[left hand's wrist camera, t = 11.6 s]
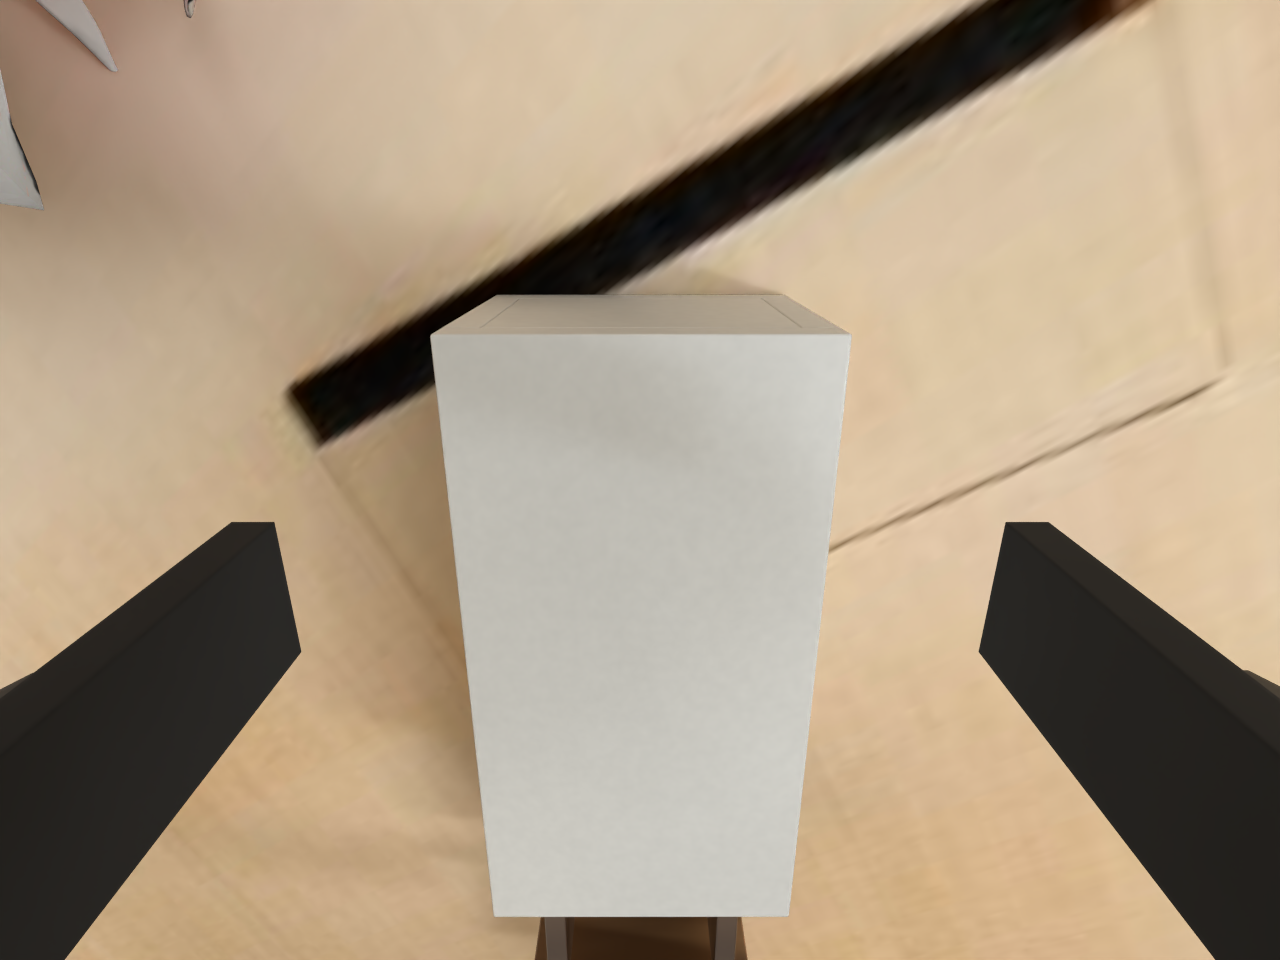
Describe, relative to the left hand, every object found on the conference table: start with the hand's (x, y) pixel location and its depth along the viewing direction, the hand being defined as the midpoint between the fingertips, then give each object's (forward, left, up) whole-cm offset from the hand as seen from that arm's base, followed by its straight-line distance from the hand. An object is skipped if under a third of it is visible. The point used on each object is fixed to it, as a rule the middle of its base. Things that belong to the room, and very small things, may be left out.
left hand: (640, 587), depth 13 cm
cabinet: (+6, +1, -14) cm, 16 cm away
